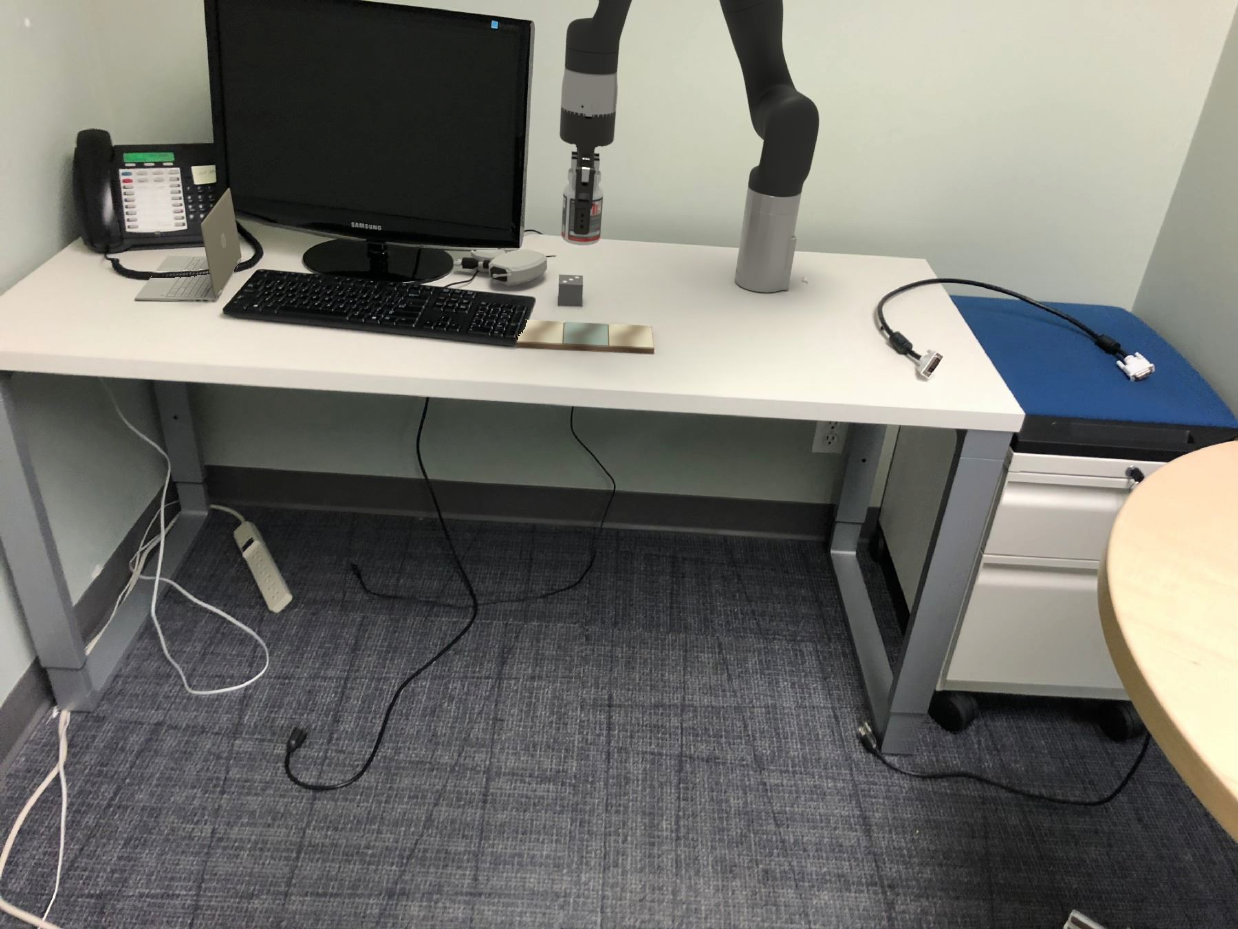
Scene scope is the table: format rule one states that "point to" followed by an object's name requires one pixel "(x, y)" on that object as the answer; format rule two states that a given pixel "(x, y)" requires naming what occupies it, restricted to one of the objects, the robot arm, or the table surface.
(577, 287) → the die
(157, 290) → the laptop
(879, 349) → the table surface
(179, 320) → the table surface
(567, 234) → the pill bottle
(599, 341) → the board
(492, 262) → the robot toy
